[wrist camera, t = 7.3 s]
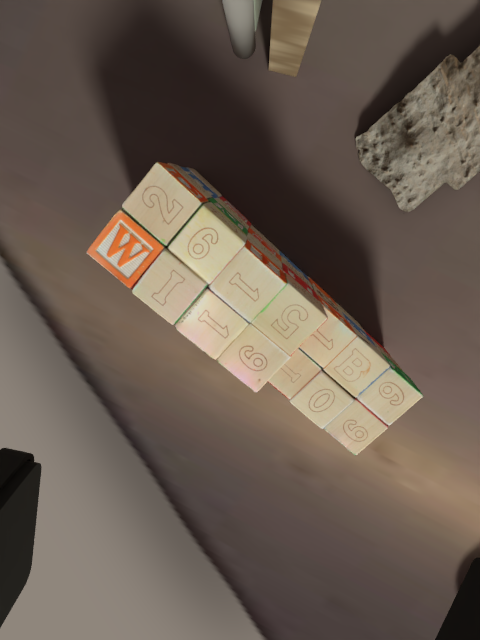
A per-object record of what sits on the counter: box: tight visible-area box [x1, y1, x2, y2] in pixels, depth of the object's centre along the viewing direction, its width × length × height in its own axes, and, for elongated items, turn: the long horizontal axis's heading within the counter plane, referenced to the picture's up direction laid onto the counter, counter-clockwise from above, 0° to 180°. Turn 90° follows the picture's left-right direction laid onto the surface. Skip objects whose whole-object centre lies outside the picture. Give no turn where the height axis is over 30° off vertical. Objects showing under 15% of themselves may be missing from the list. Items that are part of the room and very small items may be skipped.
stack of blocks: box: [87, 162, 423, 455], centre depth 31 cm, size 21×6×12 cm, turn 48°
